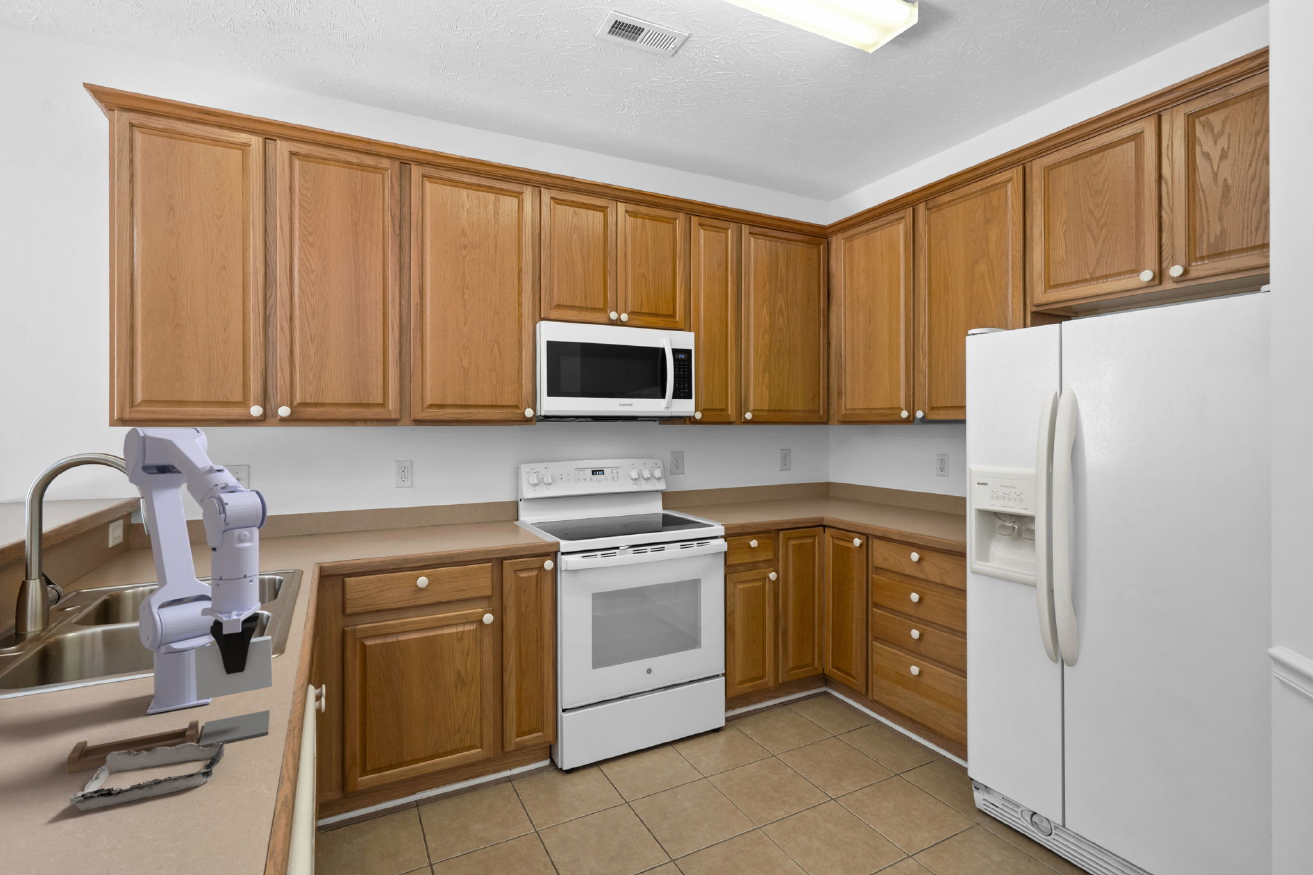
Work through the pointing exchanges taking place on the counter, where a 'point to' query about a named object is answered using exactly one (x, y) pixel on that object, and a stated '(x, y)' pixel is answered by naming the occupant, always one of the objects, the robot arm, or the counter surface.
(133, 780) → the counter surface
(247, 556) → the robot arm
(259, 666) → the board
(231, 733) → the mat
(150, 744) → the rack
